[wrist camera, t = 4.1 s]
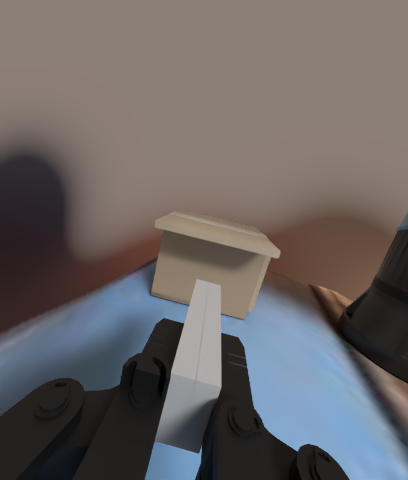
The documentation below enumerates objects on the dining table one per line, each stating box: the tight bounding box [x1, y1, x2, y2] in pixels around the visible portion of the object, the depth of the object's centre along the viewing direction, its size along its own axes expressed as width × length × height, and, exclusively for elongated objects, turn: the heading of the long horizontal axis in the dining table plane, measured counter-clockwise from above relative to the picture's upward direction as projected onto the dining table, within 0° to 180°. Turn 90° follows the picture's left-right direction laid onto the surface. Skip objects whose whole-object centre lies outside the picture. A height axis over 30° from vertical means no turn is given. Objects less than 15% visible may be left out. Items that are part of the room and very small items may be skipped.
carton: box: [151, 229, 271, 320], centre depth 32 cm, size 15×10×11 cm
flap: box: [155, 209, 281, 258], centre depth 28 cm, size 14×15×1 cm
